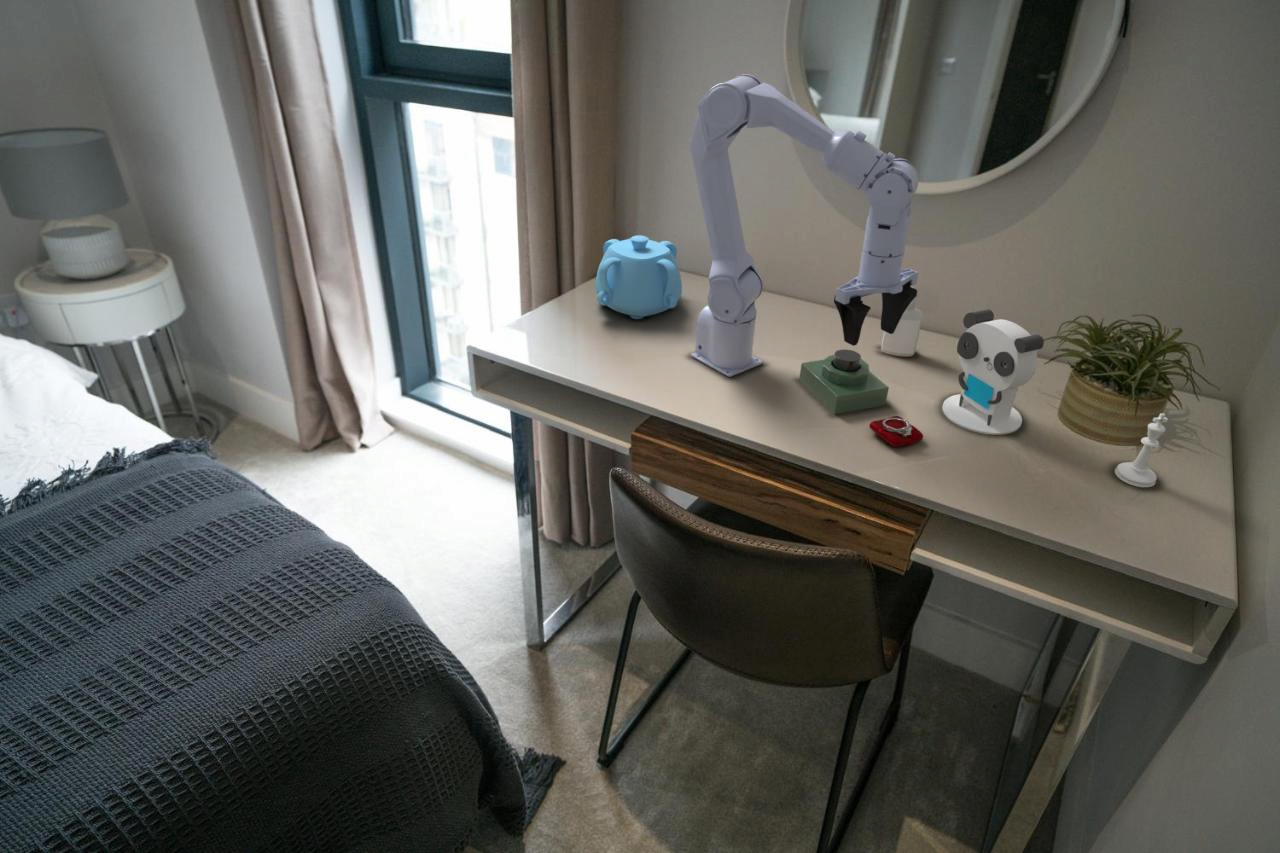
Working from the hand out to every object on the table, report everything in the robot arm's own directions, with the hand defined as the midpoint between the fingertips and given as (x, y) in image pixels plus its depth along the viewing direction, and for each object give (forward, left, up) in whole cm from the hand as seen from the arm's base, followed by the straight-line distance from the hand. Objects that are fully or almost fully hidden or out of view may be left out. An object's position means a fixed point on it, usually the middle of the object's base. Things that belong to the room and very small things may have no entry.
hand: (869, 337), depth 119 cm
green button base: (-2, -2, -10) cm, 10 cm away
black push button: (-2, -2, -5) cm, 6 cm away
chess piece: (+37, +12, -10) cm, 40 cm away
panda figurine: (+15, +10, -10) cm, 21 cm away
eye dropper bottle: (-5, +17, -10) cm, 20 cm away
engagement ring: (+11, -6, -10) cm, 16 cm away
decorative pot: (-47, -7, -10) cm, 48 cm away
